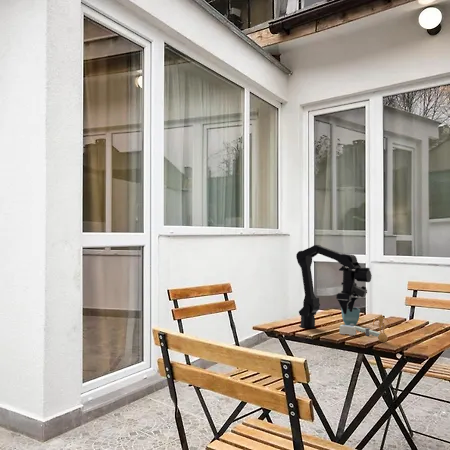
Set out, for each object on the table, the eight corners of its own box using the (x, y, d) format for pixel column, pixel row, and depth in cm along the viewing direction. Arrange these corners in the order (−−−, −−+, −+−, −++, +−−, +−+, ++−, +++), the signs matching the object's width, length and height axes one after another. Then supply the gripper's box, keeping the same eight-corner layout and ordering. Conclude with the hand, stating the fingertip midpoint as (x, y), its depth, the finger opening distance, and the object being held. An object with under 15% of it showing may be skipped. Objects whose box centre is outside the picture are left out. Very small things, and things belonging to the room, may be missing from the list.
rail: (371, 337, 219) (371, 330, 219) (344, 329, 238) (345, 322, 238) (382, 336, 222) (382, 329, 222) (354, 328, 240) (355, 322, 240)
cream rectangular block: (356, 334, 226) (356, 325, 226) (353, 335, 223) (353, 327, 223) (342, 332, 230) (342, 324, 230) (339, 334, 226) (339, 325, 227)
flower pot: (357, 323, 255) (357, 307, 256) (360, 326, 247) (360, 309, 247) (340, 323, 256) (341, 306, 256) (343, 326, 247) (343, 309, 248)
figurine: (375, 343, 207) (375, 315, 207) (370, 340, 213) (370, 313, 213) (393, 343, 208) (394, 316, 208) (387, 340, 214) (388, 314, 214)
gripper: (359, 283, 215) (359, 317, 215) (370, 280, 231) (370, 312, 230) (336, 281, 221) (335, 314, 220) (348, 279, 237) (347, 309, 236)
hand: (348, 312), depth 227 cm, fingers open, 9 cm apart
